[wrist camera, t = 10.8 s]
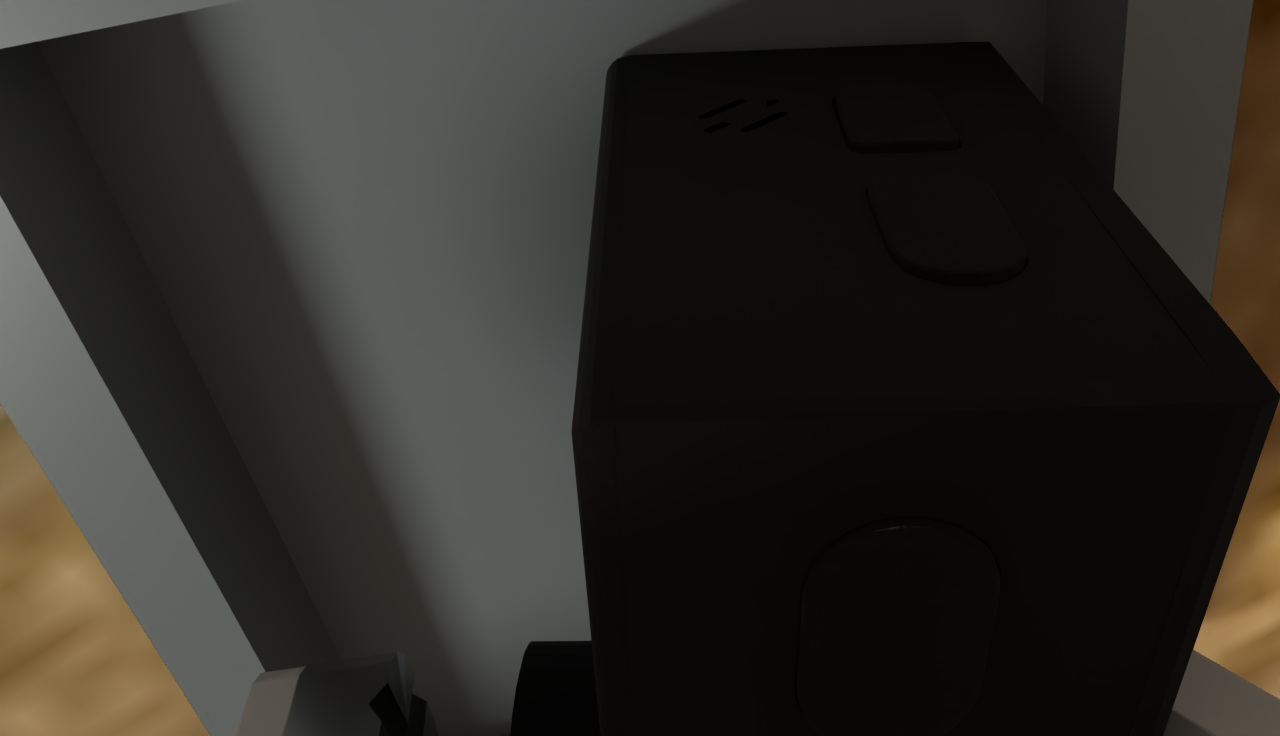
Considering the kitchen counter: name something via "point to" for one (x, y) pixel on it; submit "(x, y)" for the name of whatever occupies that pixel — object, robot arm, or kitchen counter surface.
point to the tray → (413, 289)
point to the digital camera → (883, 414)
